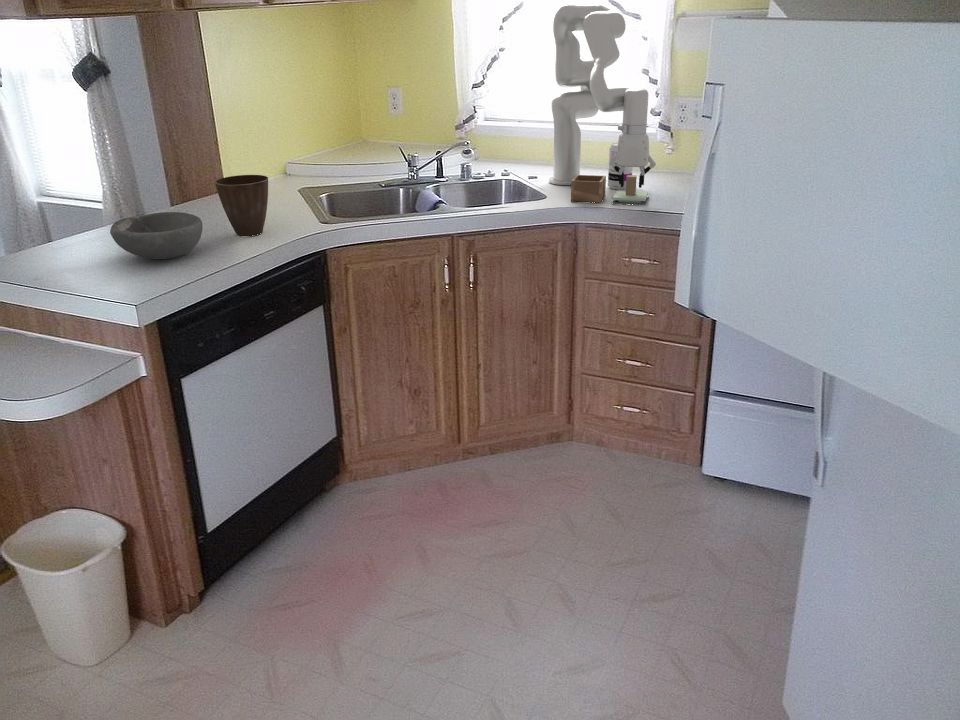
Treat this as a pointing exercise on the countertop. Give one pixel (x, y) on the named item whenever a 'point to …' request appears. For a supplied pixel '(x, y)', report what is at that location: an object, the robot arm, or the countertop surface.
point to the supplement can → (613, 174)
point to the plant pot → (244, 202)
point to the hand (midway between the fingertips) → (631, 186)
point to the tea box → (588, 188)
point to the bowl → (158, 234)
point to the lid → (630, 192)
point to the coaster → (631, 202)
